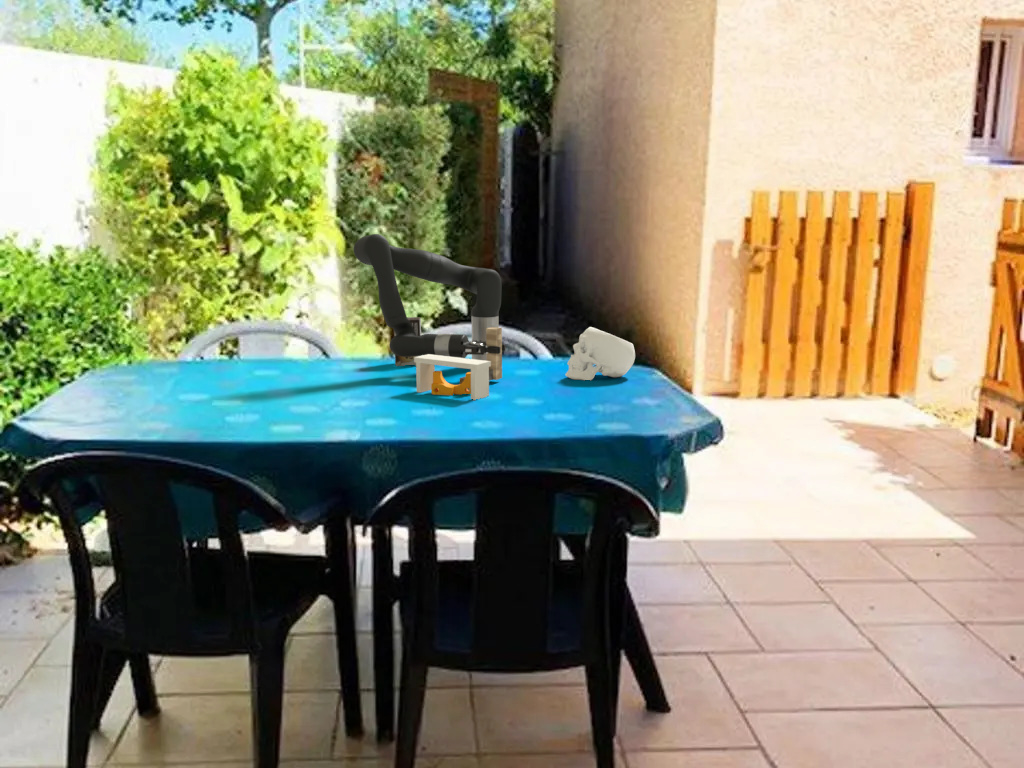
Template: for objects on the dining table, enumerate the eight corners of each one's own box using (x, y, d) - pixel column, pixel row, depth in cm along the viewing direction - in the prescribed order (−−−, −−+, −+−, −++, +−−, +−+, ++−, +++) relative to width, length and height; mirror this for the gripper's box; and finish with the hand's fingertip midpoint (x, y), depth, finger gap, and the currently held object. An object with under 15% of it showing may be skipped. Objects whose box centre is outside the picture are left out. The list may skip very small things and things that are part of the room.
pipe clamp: (431, 394, 303) (431, 373, 302) (435, 391, 307) (435, 370, 306) (470, 396, 300) (470, 374, 299) (474, 393, 305) (474, 372, 303)
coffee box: (422, 362, 356) (421, 316, 353) (421, 365, 350) (420, 319, 347) (396, 362, 356) (395, 316, 353) (394, 366, 350) (393, 319, 347)
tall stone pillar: (492, 377, 324) (492, 327, 320) (502, 378, 322) (501, 327, 319) (456, 388, 306) (455, 335, 303) (466, 389, 304) (465, 336, 301)
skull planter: (555, 368, 334) (582, 317, 332) (608, 394, 338) (635, 344, 336) (562, 376, 321) (591, 322, 318) (617, 403, 325) (645, 351, 322)
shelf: (429, 387, 312) (428, 354, 310) (491, 396, 300) (490, 361, 298) (414, 391, 306) (414, 357, 304) (477, 400, 294) (477, 364, 292)
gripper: (443, 337, 316) (495, 340, 311) (459, 331, 330) (509, 333, 324) (443, 361, 318) (495, 364, 313) (459, 354, 331) (509, 357, 326)
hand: (502, 348), depth 318 cm, fingers closed on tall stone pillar, 4 cm apart
